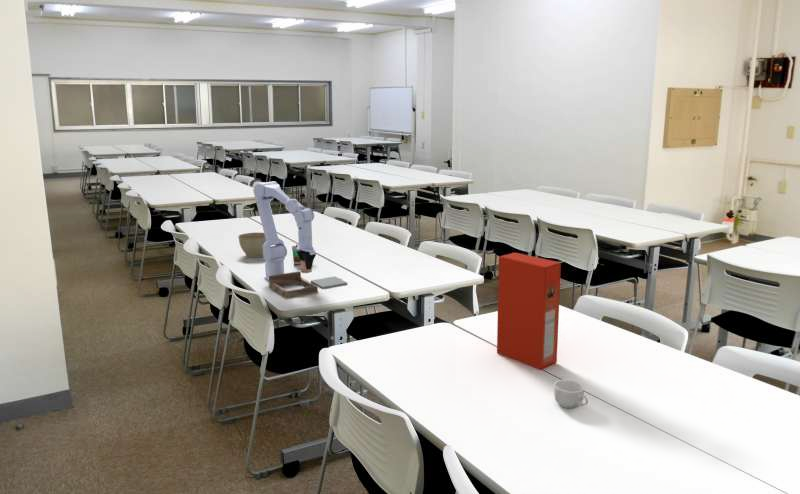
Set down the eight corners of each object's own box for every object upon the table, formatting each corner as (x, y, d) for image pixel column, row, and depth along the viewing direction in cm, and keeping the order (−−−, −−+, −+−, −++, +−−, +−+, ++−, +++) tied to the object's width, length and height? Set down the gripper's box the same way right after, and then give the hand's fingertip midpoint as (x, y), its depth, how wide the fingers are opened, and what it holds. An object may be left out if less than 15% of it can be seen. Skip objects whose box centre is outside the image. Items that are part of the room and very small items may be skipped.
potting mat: (310, 282, 285) (310, 280, 285) (335, 278, 292) (334, 276, 291) (322, 288, 276) (322, 286, 275) (347, 284, 282) (347, 282, 282)
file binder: (540, 370, 191) (544, 267, 184) (496, 353, 204) (498, 256, 197) (556, 363, 196) (561, 262, 189) (512, 347, 209) (515, 252, 202)
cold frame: (269, 287, 279) (268, 276, 277) (300, 281, 286) (299, 271, 285) (285, 297, 263) (285, 286, 262) (317, 292, 271) (317, 280, 270)
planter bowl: (276, 256, 333) (275, 235, 330) (246, 261, 324) (245, 240, 322) (264, 250, 346) (262, 230, 343) (235, 254, 337) (233, 234, 334)
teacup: (546, 402, 171) (547, 384, 170) (566, 395, 176) (567, 377, 174) (577, 417, 163) (578, 398, 162) (596, 409, 168) (597, 390, 166)
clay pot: (299, 271, 277) (298, 260, 276) (309, 269, 280) (308, 258, 278) (303, 273, 273) (302, 262, 272) (313, 271, 276) (312, 260, 275)
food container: (304, 266, 312) (303, 246, 310) (292, 266, 313) (291, 246, 311) (313, 260, 324) (312, 241, 321) (301, 260, 325) (300, 240, 322)
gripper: (289, 235, 277) (291, 265, 280) (303, 241, 265) (304, 272, 268) (305, 233, 281) (306, 263, 284) (318, 239, 269) (320, 270, 272)
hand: (306, 267), depth 276 cm, fingers closed on clay pot, 5 cm apart
